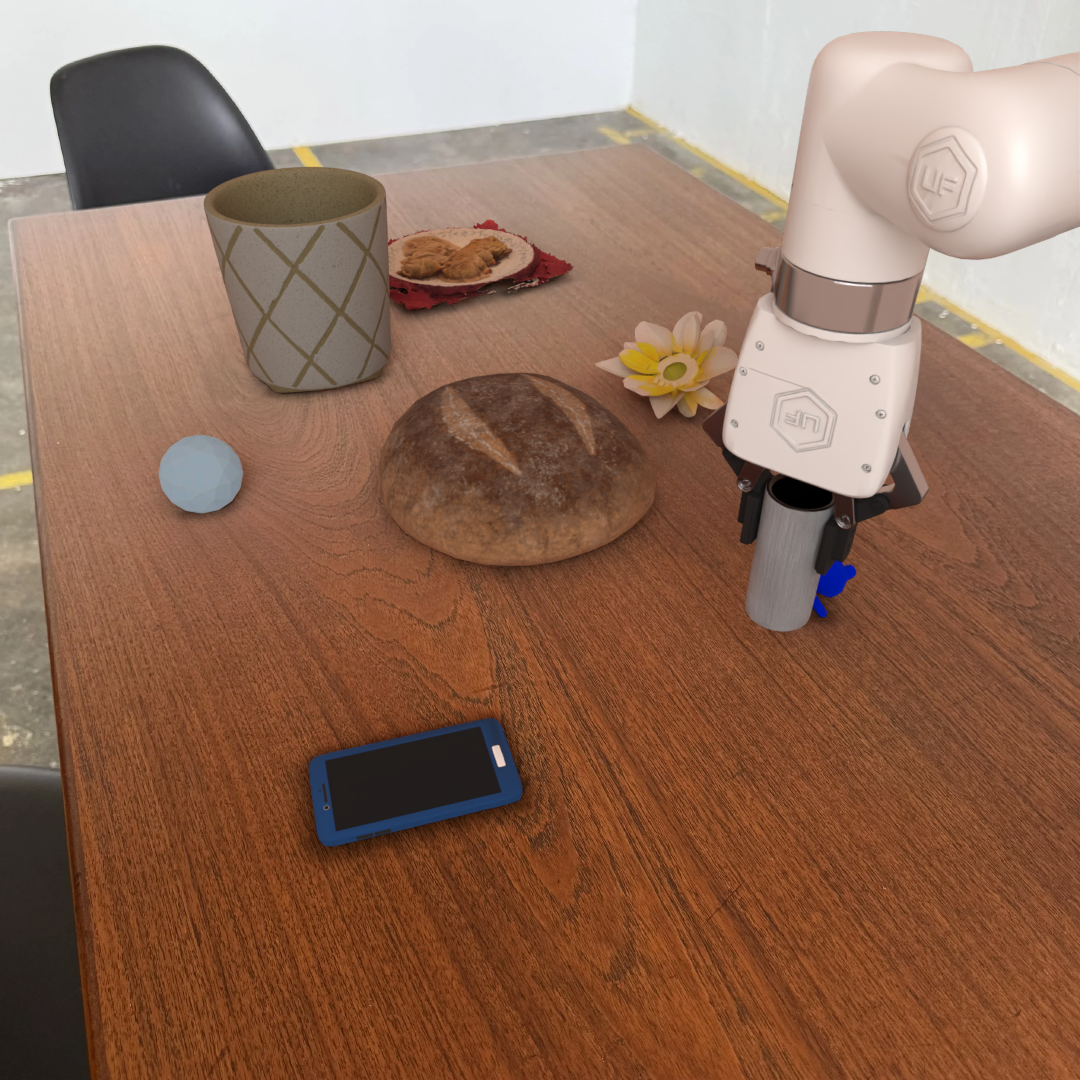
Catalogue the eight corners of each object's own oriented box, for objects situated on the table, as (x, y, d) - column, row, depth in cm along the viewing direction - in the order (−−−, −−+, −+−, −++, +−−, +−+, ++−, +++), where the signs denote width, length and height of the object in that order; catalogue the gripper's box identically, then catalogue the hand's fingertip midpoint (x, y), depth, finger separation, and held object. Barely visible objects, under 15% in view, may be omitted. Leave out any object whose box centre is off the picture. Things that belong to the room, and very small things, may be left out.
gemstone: (161, 443, 95) (155, 432, 90) (243, 442, 97) (241, 431, 92) (164, 520, 94) (158, 513, 90) (246, 518, 96) (244, 510, 92)
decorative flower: (576, 364, 111) (600, 283, 106) (654, 364, 117) (681, 287, 111) (642, 434, 102) (673, 349, 96) (724, 431, 107) (758, 350, 102)
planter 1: (417, 386, 111) (403, 214, 98) (247, 414, 106) (210, 236, 93) (382, 317, 125) (366, 159, 113) (231, 339, 120) (197, 175, 108)
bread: (439, 615, 81) (431, 521, 74) (348, 455, 99) (335, 370, 93) (703, 534, 89) (715, 444, 83) (573, 402, 108) (575, 320, 102)
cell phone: (526, 800, 66) (526, 793, 65) (319, 850, 63) (318, 844, 62) (498, 721, 71) (498, 714, 71) (307, 764, 68) (306, 757, 68)
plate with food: (575, 280, 135) (576, 256, 133) (410, 317, 124) (408, 292, 122) (491, 229, 151) (490, 207, 149) (337, 258, 140) (334, 235, 138)
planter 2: (805, 639, 65) (834, 517, 59) (738, 623, 66) (760, 502, 60) (814, 597, 69) (843, 478, 62) (750, 583, 70) (772, 464, 63)
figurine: (853, 598, 82) (865, 555, 79) (801, 641, 78) (811, 597, 75) (807, 572, 85) (817, 529, 82) (754, 612, 81) (762, 569, 78)
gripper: (675, 274, 54) (651, 531, 66) (983, 357, 47) (895, 632, 58) (735, 234, 59) (703, 480, 70) (1024, 303, 51) (935, 567, 63)
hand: (790, 546), depth 64 cm, fingers closed on planter 2, 4 cm apart
